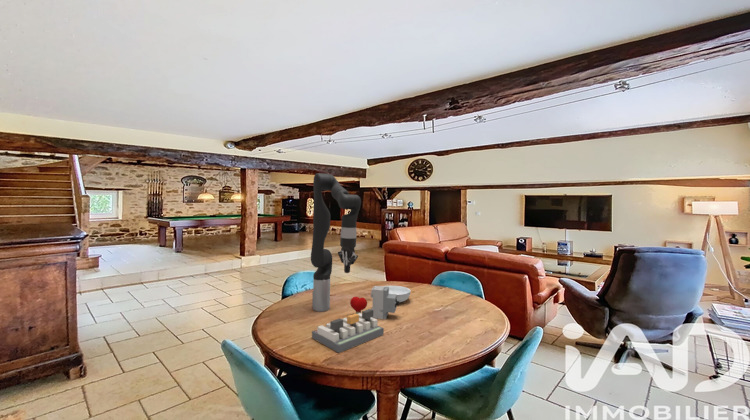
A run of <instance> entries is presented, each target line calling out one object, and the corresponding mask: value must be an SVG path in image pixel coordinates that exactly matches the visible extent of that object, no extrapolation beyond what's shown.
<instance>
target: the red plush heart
mask: <svg viewBox="0 0 750 420" xmlns="http://www.w3.org/2000/svg"><path fill="white" fill-rule="evenodd" d="M349 303H350V307H351V309H353V310H354V311H355V313H356V314H359V313H361V314H362V311H364V310H366V308H367V306H368V300H367V299H366V298H365V297H359V296H354V297H351V299H350V302H349Z"/></svg>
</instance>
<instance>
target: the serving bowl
mask: <svg viewBox="0 0 750 420" xmlns="http://www.w3.org/2000/svg"><path fill="white" fill-rule="evenodd" d="M384 286H385V287H389V294H397V301H399V303H402V302H405V301H406V300H408V299H409V298H410V295H411V291H412V290H411V289H410V288H408V287H406V286H400V285H384Z"/></svg>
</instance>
